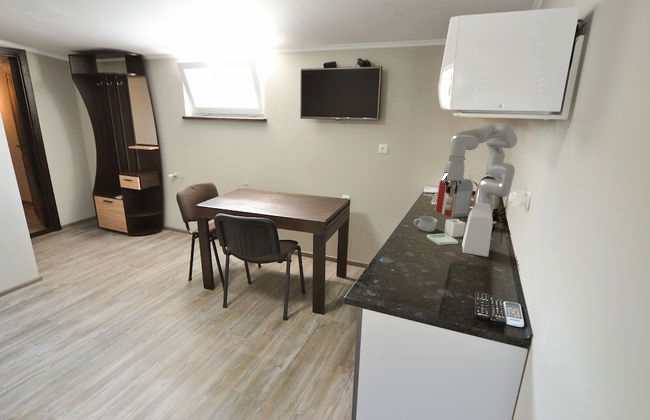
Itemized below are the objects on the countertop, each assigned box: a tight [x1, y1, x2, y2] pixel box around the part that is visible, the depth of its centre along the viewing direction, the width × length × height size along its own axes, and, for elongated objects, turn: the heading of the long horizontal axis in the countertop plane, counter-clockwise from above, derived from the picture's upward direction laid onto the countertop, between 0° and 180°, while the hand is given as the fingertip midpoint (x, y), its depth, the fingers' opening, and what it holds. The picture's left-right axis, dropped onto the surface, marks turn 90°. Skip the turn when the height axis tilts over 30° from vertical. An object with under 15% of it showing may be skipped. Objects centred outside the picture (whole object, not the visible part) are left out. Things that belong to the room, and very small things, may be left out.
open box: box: [443, 218, 466, 238], centre depth 192 cm, size 8×8×9 cm
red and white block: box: [434, 178, 474, 219], centre depth 236 cm, size 17×18×27 cm
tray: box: [426, 233, 459, 246], centre depth 183 cm, size 12×12×2 cm
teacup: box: [413, 215, 438, 233], centre depth 198 cm, size 14×11×8 cm
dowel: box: [445, 181, 456, 210], centre depth 177 cm, size 4×4×16 cm
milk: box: [461, 202, 494, 258], centre depth 168 cm, size 12×12×26 cm
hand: (450, 192), depth 177 cm, fingers closed on dowel, 3 cm apart
